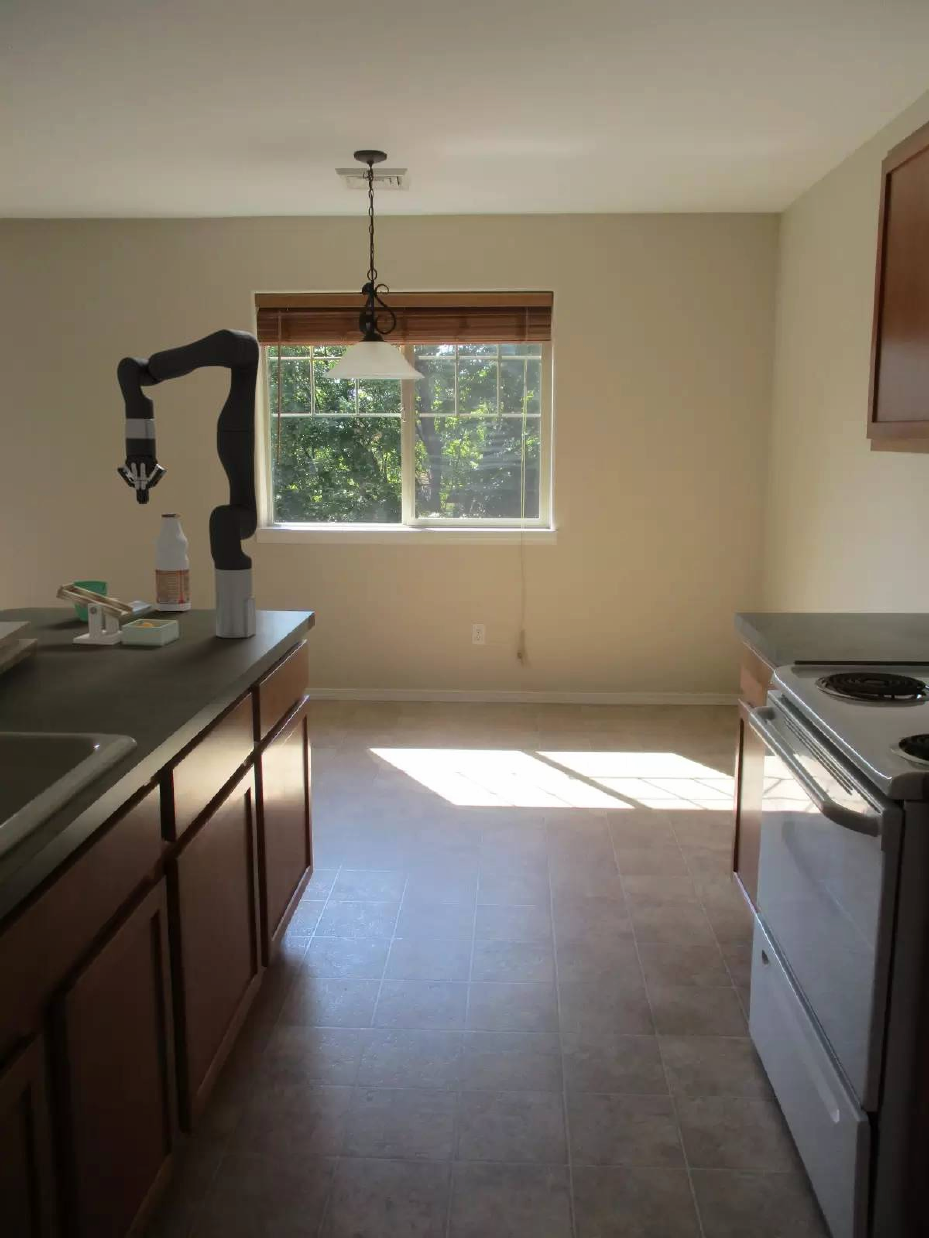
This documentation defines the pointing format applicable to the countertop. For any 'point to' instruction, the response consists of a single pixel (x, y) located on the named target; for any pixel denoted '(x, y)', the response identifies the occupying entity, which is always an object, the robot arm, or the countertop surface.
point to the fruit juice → (172, 566)
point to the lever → (100, 601)
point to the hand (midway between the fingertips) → (142, 503)
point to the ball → (147, 625)
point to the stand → (100, 628)
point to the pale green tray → (150, 632)
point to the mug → (91, 586)
